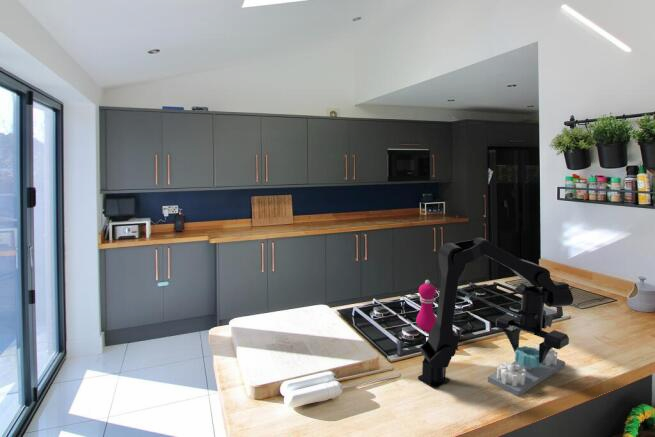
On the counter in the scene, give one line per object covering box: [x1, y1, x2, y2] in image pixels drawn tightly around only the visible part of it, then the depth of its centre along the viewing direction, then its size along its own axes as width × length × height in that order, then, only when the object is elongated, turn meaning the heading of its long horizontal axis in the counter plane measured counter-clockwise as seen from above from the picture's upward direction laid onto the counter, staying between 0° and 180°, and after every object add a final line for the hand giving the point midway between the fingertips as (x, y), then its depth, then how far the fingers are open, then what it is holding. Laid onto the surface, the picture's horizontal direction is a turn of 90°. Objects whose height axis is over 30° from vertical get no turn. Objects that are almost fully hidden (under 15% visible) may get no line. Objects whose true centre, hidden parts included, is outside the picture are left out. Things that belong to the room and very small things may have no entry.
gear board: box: [487, 344, 566, 397], centre depth 118 cm, size 26×9×6 cm, turn 125°
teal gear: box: [514, 345, 542, 368], centre depth 117 cm, size 7×7×3 cm
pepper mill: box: [415, 279, 437, 333], centre depth 144 cm, size 7×7×20 cm
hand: (528, 357), depth 117 cm, fingers closed on teal gear, 7 cm apart
